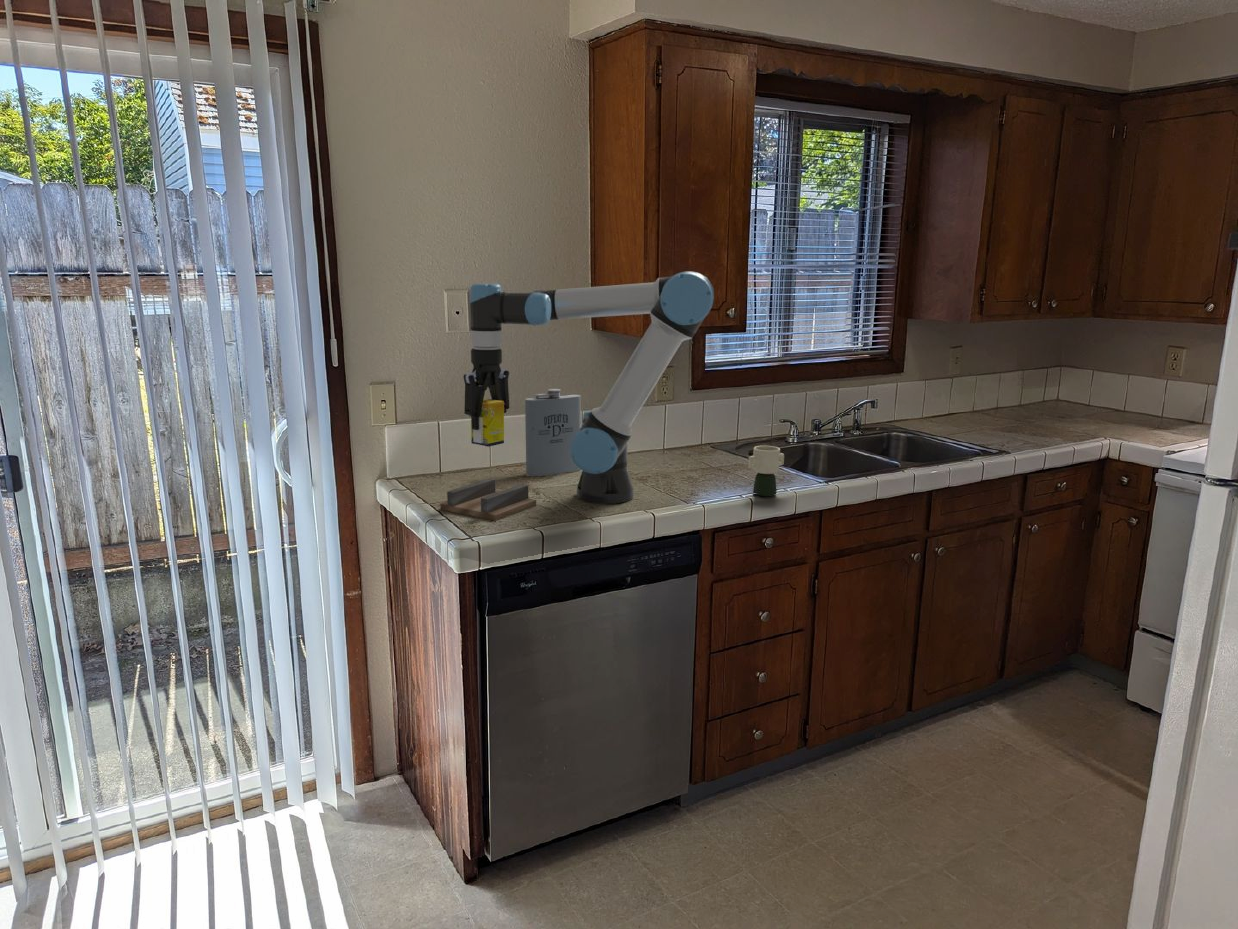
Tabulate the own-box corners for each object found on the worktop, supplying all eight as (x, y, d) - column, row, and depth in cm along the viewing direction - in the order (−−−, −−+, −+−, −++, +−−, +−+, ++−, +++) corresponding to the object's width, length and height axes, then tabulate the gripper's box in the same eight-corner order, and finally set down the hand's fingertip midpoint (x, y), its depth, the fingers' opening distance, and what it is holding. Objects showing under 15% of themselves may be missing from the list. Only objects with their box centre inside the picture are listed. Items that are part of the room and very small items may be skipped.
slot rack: (536, 505, 221) (535, 486, 220) (495, 520, 207) (495, 500, 206) (482, 495, 230) (482, 477, 229) (440, 509, 217) (439, 490, 216)
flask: (531, 477, 249) (529, 391, 243) (524, 474, 253) (523, 389, 247) (584, 470, 257) (584, 387, 252) (576, 467, 261) (576, 385, 255)
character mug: (774, 490, 237) (777, 444, 234) (789, 496, 231) (791, 449, 228) (740, 493, 233) (742, 447, 230) (753, 500, 227) (756, 452, 224)
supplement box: (470, 443, 216) (469, 400, 213) (487, 440, 221) (486, 397, 218) (488, 447, 213) (487, 403, 210) (504, 443, 217) (504, 400, 215)
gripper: (502, 344, 221) (503, 432, 226) (446, 349, 206) (449, 444, 211) (524, 346, 216) (524, 436, 222) (468, 351, 201) (470, 448, 207)
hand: (487, 440), depth 216 cm, fingers closed on supplement box, 6 cm apart
